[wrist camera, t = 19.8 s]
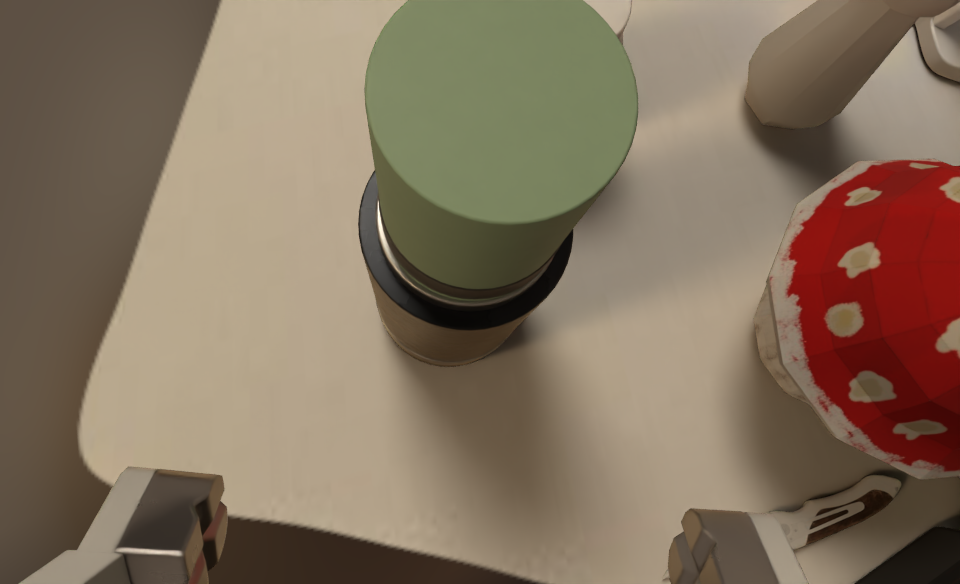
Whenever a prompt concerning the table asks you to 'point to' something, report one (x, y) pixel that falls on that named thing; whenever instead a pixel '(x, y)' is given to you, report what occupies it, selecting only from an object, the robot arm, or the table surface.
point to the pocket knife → (836, 511)
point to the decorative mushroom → (873, 312)
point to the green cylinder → (493, 135)
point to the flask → (444, 300)
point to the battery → (922, 561)
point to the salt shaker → (827, 57)
